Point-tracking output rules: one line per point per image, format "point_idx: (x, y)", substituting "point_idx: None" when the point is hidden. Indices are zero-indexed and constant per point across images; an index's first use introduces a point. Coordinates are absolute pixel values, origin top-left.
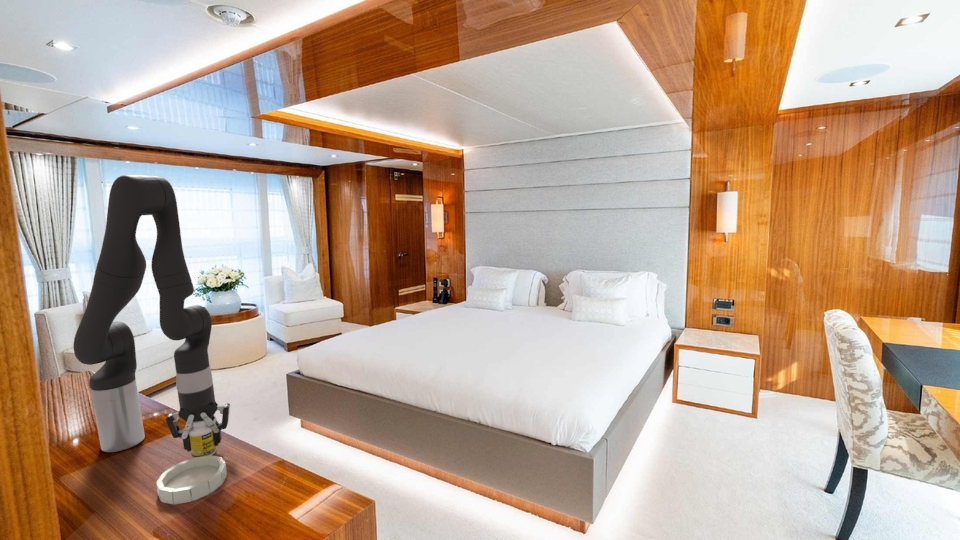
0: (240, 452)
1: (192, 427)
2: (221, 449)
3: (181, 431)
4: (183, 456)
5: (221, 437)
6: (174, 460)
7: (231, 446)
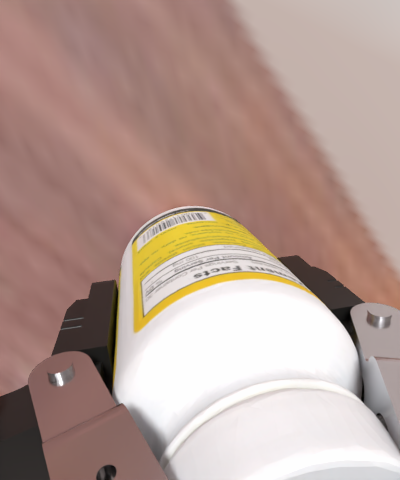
0: (377, 301)
1: (148, 443)
2: (279, 242)
3: (20, 464)
4: (58, 262)
5: (331, 277)
6: (17, 296)
7: (332, 223)
